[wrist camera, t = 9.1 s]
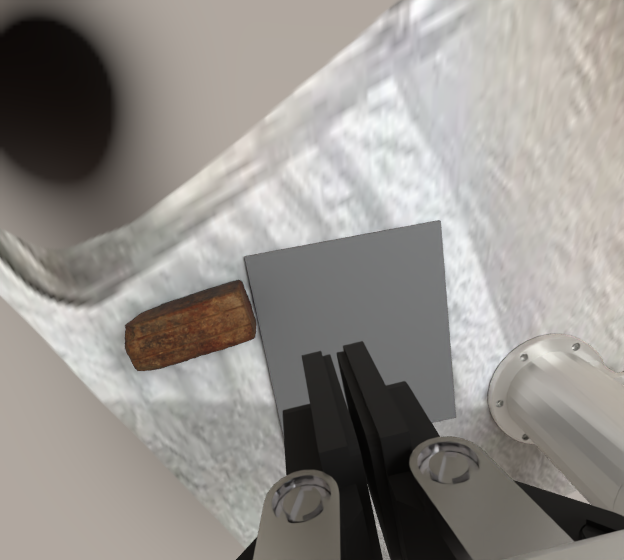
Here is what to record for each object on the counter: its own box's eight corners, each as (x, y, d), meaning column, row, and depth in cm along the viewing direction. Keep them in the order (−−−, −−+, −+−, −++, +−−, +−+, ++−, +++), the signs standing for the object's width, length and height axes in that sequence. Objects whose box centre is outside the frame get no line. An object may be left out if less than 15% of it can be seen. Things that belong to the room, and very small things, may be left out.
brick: (258, 323, 41) (241, 277, 40) (257, 339, 37) (239, 289, 36) (148, 357, 41) (128, 312, 40) (136, 377, 37) (114, 328, 36)
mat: (439, 220, 40) (440, 220, 40) (454, 415, 46) (456, 417, 46) (244, 256, 39) (244, 257, 39) (286, 450, 46) (287, 453, 45)
